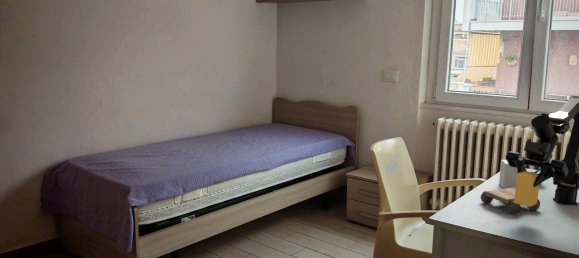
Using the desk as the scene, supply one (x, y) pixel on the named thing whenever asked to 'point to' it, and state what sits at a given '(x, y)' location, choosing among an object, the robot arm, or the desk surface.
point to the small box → (507, 175)
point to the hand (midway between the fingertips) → (525, 184)
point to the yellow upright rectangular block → (526, 189)
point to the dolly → (506, 199)
